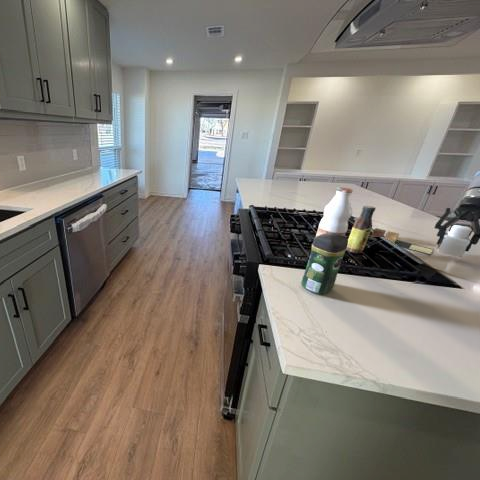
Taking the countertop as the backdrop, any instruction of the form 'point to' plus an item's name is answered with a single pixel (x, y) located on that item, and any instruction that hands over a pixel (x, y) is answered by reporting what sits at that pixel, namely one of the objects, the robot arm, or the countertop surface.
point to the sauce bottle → (361, 230)
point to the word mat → (411, 246)
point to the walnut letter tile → (378, 233)
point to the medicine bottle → (455, 240)
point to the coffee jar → (324, 262)
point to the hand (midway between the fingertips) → (452, 246)
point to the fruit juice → (337, 213)
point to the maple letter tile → (392, 236)
